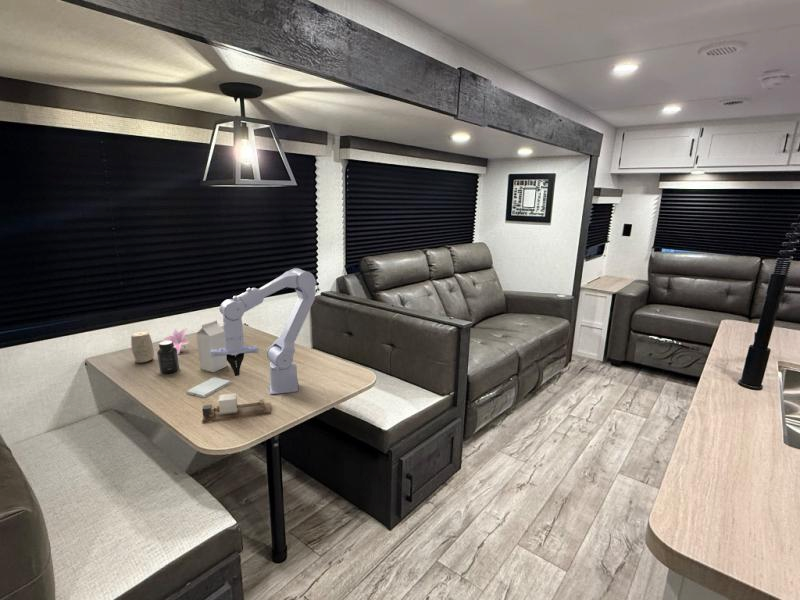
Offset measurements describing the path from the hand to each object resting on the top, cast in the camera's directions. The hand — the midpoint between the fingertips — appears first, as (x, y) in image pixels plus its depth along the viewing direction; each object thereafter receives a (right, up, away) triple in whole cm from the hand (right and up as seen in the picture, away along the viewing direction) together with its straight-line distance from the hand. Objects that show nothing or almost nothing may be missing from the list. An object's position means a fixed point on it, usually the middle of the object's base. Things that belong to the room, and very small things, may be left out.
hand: (237, 374), depth 139 cm
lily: (-44, +2, +45) cm, 62 cm away
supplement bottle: (-36, -3, +24) cm, 43 cm away
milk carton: (-20, -2, +28) cm, 34 cm away
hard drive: (-14, -7, +11) cm, 19 cm away
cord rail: (+3, -11, -6) cm, 13 cm away
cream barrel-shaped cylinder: (-51, 0, +33) cm, 61 cm away
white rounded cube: (0, -10, -7) cm, 13 cm away
